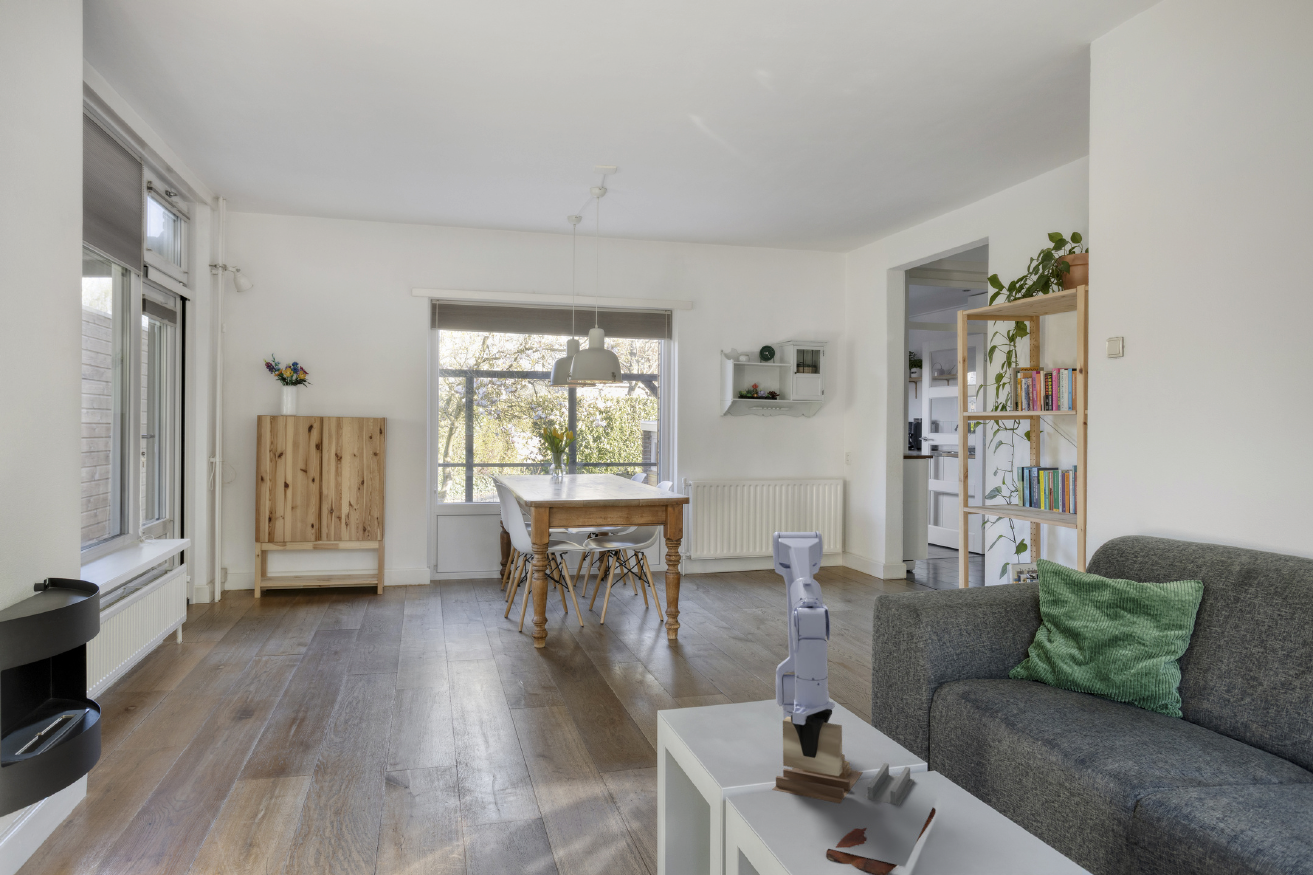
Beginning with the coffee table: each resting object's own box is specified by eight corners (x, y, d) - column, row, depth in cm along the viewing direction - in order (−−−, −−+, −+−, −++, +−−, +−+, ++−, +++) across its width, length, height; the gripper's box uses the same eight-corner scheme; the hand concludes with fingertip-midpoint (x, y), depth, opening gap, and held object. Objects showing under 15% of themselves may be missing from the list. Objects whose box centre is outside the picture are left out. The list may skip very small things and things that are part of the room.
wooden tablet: (887, 883, 112) (887, 871, 112) (821, 862, 118) (821, 850, 118) (945, 814, 134) (945, 803, 134) (887, 799, 140) (886, 789, 140)
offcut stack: (808, 764, 152) (808, 748, 152) (850, 771, 148) (850, 755, 148) (802, 770, 149) (802, 754, 149) (845, 778, 145) (845, 761, 145)
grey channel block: (880, 778, 147) (880, 762, 147) (914, 784, 144) (914, 767, 144) (863, 803, 137) (863, 785, 137) (899, 810, 134) (899, 792, 134)
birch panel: (787, 760, 145) (787, 716, 145) (842, 771, 140) (841, 725, 140) (783, 765, 143) (782, 720, 143) (838, 776, 138) (837, 729, 138)
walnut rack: (800, 765, 154) (800, 752, 154) (863, 777, 148) (862, 763, 148) (772, 794, 141) (772, 780, 141) (839, 808, 135) (839, 793, 135)
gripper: (820, 689, 133) (821, 771, 133) (845, 668, 146) (846, 743, 146) (780, 684, 137) (781, 764, 136) (807, 664, 149) (808, 737, 149)
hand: (812, 753), depth 141 cm, fingers closed on birch panel, 2 cm apart
